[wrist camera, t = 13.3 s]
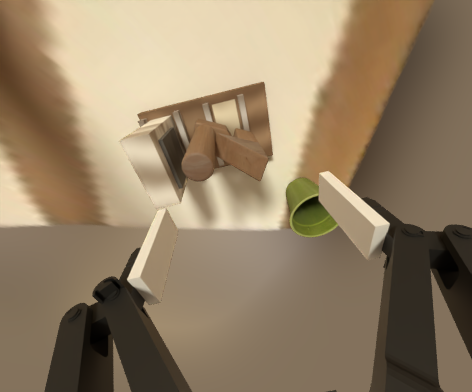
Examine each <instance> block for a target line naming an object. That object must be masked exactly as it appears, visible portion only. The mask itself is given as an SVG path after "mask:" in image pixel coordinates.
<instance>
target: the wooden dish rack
mask: <svg viewBox="0 0 472 392" xmlns="http://www.w3.org/2000/svg"><path fill="white" fill-rule="evenodd" d="M137 115H138V117H139V119H140V121H138V123H139V125H140V128H138V129H137V130H135V131H134V132H132V133H131V134H129V135H127V136H126V137H124V138H123V139H121V140H120V141H119V142H120V144H121V146H122V148H123V150H124V151H125V153H126V155H127V157H128V159H129V160H130V162H131V164H132V166H133V168H134V170H135V171H136V173H137V175H138V177H139V179H140V180H141V182H142V184H143V186H144V188H145V190H146V191H147V193H148V195H149V197H150V199H151V200H152V202H153V204H154V206H155V208H156V209H158V208H162V207H167V206H171V205H176V204H180V203H181V200H182V197H183V193H184V190H185V187H186V183H187V180H188V177H187V176H186V175H185V174H184V172H183V170H182V160H183V158H184V155H185V153H186V151H187V148H188V146H189V144H190V141H191V139H192V137H193V134H194V127H195V122H196V120H197V119H198V118H199V119H203V120H207V121H211V122H215V123H219V124H222V125H226V126H227V128H228V130H229V131H230V133H231V135H232V136H233V135H234V131H235V129H236V128H238V129H242V130H246V131H250V132H252V133H253V134H254V136H255V137H256V139H257V141H258V142H259V144H260V145H261V147H262V148H263V150H264V152H265V153H266V155H267V156H271V155H273V152H272V144H271V135H270V127H269V118H268V110H267V101H266V92H265V84H264V82H260V83H256V84H252V85H248V86H244V87H240V88H236V89H232V90H228V91H224V92H220V93H217V94H213V95H209V96H205V97H201V98H197V99H193V100H189V101H185V102H181V103H177V104H173V105H169V106H165V107H161V108H157V109H153V110H149V111H145V112H141V113H139V114H137ZM228 165H231V164H229V163H227V162H226V161H224V160H222V159H220V158H219V157H217V156H215V157H214V169H215V168H220V167H224V166H228Z"/></svg>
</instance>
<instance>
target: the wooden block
mask: <svg viewBox="0 0 472 392" xmlns="http://www.w3.org/2000/svg"><path fill="white" fill-rule="evenodd" d="M215 156H217V157H219V158H220V159H222V160H224V161H226V162H227V163H229V164H231V165H232V166H234V167H236V168H238V169H239V170H241V171H243V172H245V173H246V174H248V175H250V176H251V177H253V178H255V179H257V180H258V181H261V179H262V176H263V173H264V170H265V168H266V165H267V162H268V159H269V158H268V157H267V155H266V153H265V152H264V150H263V148H262V147H261V145H260V144H259V142H258V141H257V139H256V137H255V136H254V134H253V133H252V132H250V131H246V130H242V129H238V128H236V129H235V131H234V135H233V136H232V135H231V133H230V131H229V130H228V128H227V126H226V125H222V124H219V123H215V122H211V121H207V120H203V119H199V118H198V119H197V120H196V122H195V127H194V134H193V137H192V139H191V141H190V144H189V146H188V148H187V151H186V153H185V155H184V158H183V160H182V170H183V172H184V174H185V175H186V176H187V177H188V178H189V179H191V180H194V181H204V180H206V179H208V178H209V177H210V176H211V175H212V174H213V171H214V157H215Z"/></svg>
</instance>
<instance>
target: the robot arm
mask: <svg viewBox="0 0 472 392" xmlns="http://www.w3.org/2000/svg"><path fill="white" fill-rule="evenodd" d="M319 201H320V203H321V204H322V205H323V206H324V208H325V209H326V210H327V211H328V212H329V214H330V215H331V216H332V217H333V219H334V220H335V221H336V222H337V223H338V225H339V226H340V227H341V228H342V230H343V231H344V232H345V233H346V234H347V236H348V237H349V238H350V239H351V241H352V242H353V243H354V244H355V246H356V247H357V248H358V249H359V250H360V252H361V253H362V254H363V255H364V257H365V258H366V259H367V260H370V259H375V258H380V256H381V253H382V251H383V252H384V253H385V254H386V255H387V258H386V261H385V264H384V268H385V272H384V281H383V289H382V298H381V306H380V315H379V324H378V332H377V341H376V350H375V359H374V367H373V376H372V383H371V387H370V391H369V392H443V390H442V389H441V388H440V385H439V380H438V369H437V354H436V340H435V326H434V312H433V299H432V285H431V271H430V269H431V270H432V273H433V275H434V277H435V279H436V281H437V284H438V285H439V288H440V290H441V292H442V295H443V297H444V299H445V301H446V303H447V306H448V308H449V310H450V312H451V314H452V317H453V319H454V321H455V323H456V325H457V328H458V330H459V332H460V334H461V336H462V339H463V341H464V343H465V345H466V347H467V350H468V352H469V354H470V356H471V358H472V228H469V227H466V226H463V225H448V226H446V227H445V228H444V230H443V232H434V231H432V232H431V231H424V230H423V229H421V228H420V227H417V226H415V225H411V224H404V223H402V222H401V221H400V220H399V219H398V218H396V217H395V216H394V215H393V214H391V213H390V212H389V211H387V210H386V209H385V208H384V207H381V205H380V204H379V203H377V202H376V201H375V200H372V199H369V198H367V197H366V198H361V199H360V198H359V197H358V196H357V195H356V194H355V193H353V192H352V191H351V190H350V189H349V188H348V187H346V186H345V185H344V184H343V183H342V182H341V181H339V180H338V179H337V178H336V177H335V176H334V175H332V174H331V173H330V172H329V171H327V172H323V173H319ZM177 235H178V230H177V228H176V226H175V224H174V222H173V220H172V218H171V216H170V214H169V212H168V210H167V208H165V209H161V210H158V211H157V213H156V216H155V218H154V220H153V222H152V225H151V227H150V229H149V231H148V234H147V236H146V238H145V240H144V243H143V245H142V247H141V248H137V249H136V250H135V251H134V252H133V253H132V254H131V257H130V258H129V260H128V263H127V265H126V267H125V269H124V271H123V273H122V275H121V277H120V279H119V280H118V279H117V278H116V277H108V278H106V279H104V280H103V281H101V282H100V283H99V284H98V285H97V286H96V287H95V289H94V291H93V297H94V298H95V299H96V300H97V301H98V302H97V303H95V304H93V305H91V306H88V305H87V304H85V303H80V304H77V305H75V306H74V307H72V308H71V309H70V310H69V311H68V312H67V313H66V314H65V315H64V316H63V318H62V320H61V322H60V326H59V331H58V335H57V339H56V344H55V348H54V352H53V357H52V361H51V366H50V370H49V374H48V379H47V383H46V387H45V392H113V391H114V389H113V339H114V342H115V345H116V348H117V351H118V354H119V356H120V360H121V363H122V365H123V368H124V371H125V374H126V377H127V380H128V383H129V386H130V389H131V391H132V392H192V391H191V389H190V387H189V385H188V384H187V382H186V380H185V378H184V377H183V375H182V373H181V371H180V369H179V368H178V366H177V364H176V363H175V361H174V359H173V357H172V355H171V354H170V352H169V350H168V349H167V347H166V345H165V343H164V341H163V340H162V338H161V336H160V334H159V333H158V331H157V329H156V327H155V326H154V324H153V322H152V320H151V319H150V317H149V315H148V313H147V312H146V310H145V308H144V307H143V305H144V302H145V301H146V302H147V303H148V304H149V305H152V304H157V303H160V302H161V299H162V295H163V291H164V287H165V283H166V279H167V275H168V271H169V267H170V263H171V259H172V255H173V251H174V247H175V243H176V239H177ZM328 392H336V390H334V391H328Z"/></svg>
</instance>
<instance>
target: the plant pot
mask: <svg viewBox="0 0 472 392" xmlns="http://www.w3.org/2000/svg"><path fill="white" fill-rule="evenodd" d="M286 197H287V201H288V205H289V209H290V226H291V229H292V230H293V231H294V232H295V233H296V234H298V235H300V236H303V237H317V236H321V235H324V234H326V233H328V232H330V231H332V230H333V229H335V228H336V227H337V226H338V223H337V222H336V221H335V220H334V219H333V217H332V216H331V215H330V214H329V212H328V211H327V210H326V209H325V208H324V206H323V205H322V204H321V203H320V201H319V186H318V185H316V184H315V183H314V182H312V181H311V180H309V179H307V178H298V179H296V180H294V181H293V182H291V183H290V184H289V185H288V187H287V189H286Z"/></svg>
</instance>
